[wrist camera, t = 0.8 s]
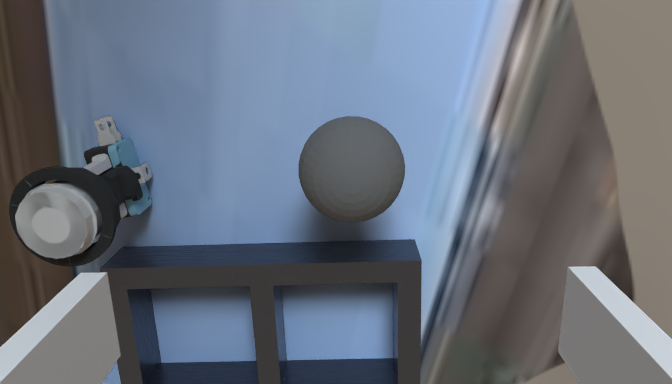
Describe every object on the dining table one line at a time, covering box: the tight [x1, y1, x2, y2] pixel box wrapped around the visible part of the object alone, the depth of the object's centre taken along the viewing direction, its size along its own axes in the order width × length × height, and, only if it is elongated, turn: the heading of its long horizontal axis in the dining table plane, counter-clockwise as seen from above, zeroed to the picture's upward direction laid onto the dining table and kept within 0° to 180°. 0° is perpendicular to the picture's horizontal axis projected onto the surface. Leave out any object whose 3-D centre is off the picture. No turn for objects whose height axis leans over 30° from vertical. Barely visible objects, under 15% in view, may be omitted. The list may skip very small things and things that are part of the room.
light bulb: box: [299, 116, 405, 222], centre depth 30 cm, size 6×6×10 cm
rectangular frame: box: [100, 239, 421, 384], centre depth 37 cm, size 11×20×4 cm, turn 92°
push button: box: [9, 116, 152, 266], centre depth 31 cm, size 7×5×10 cm
